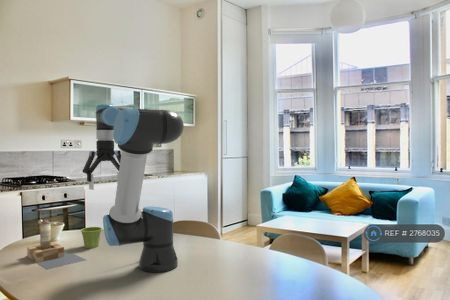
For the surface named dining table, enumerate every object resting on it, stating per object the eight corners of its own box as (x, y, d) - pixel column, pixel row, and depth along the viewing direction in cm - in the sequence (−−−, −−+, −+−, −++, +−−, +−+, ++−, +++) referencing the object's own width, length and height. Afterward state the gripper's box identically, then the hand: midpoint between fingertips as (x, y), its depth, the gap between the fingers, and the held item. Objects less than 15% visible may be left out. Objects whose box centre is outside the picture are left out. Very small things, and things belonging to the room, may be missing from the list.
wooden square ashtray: (64, 256, 163) (64, 247, 162) (37, 262, 155) (36, 252, 155) (53, 251, 170) (53, 242, 170) (27, 256, 162) (27, 247, 162)
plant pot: (98, 250, 173) (97, 231, 173) (77, 250, 174) (77, 231, 173) (105, 244, 183) (104, 226, 182) (85, 244, 183) (85, 226, 183)
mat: (86, 261, 158) (86, 260, 158) (46, 270, 146) (46, 269, 146) (62, 249, 174) (62, 248, 174) (24, 257, 163) (24, 256, 163)
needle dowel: (52, 256, 162) (52, 219, 162) (42, 258, 160) (42, 221, 159) (48, 254, 165) (48, 218, 165) (38, 256, 162) (38, 219, 162)
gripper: (125, 139, 181) (126, 184, 181) (73, 140, 163) (74, 189, 163) (134, 139, 176) (134, 186, 176) (81, 139, 158) (82, 191, 158)
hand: (105, 188), depth 170 cm, fingers open, 13 cm apart
